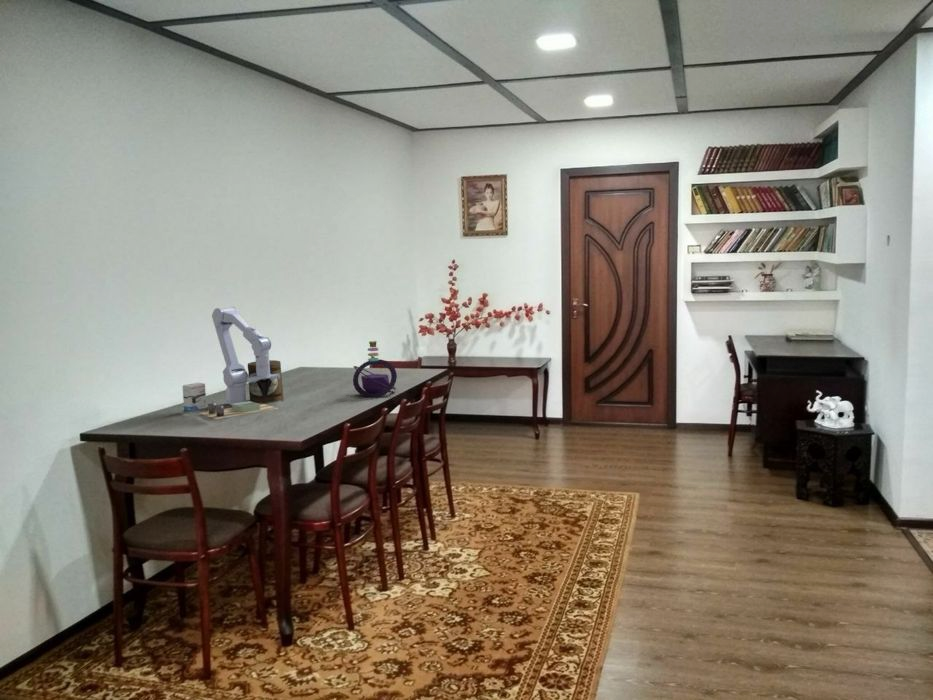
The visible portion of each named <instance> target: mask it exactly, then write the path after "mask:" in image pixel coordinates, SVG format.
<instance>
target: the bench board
mask: <svg viewBox="0 0 933 700" xmlns="http://www.w3.org/2000/svg"><path fill="white" fill-rule="evenodd" d="M258 404H260V410H255V411H249V412H243V413H242V412H238V411H235V410H232V407H228V408H224V416H219V417H218V416H217V415H216V413H215V414H209V410H208V411H203V412H199V414H200V415H203V416H206V417H209V418H212V419H215V420H219V419H220V420H221V419H225V418H230V417H237V416H242V415H243V416H244V415H248V414H249V415H251V414H254V413H255V414H256V413H259V412H260V413H261V412H265V411H273V410H278V409H280V407H279V408H278V407H276V406H272V405H269V404H265V403H258Z"/></svg>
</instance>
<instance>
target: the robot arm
mask: <svg viewBox="0 0 933 700" xmlns="http://www.w3.org/2000/svg"><path fill="white" fill-rule="evenodd" d="M211 317H212V318H211V319H212V322H213V325H214V328H215V332H216V334H217V335H216V336H217V338H218V341H219V346H220V348H221V349H220V350H221V352H222V355H223V359H224V361H225V367H224V369H223V371H222V374H223V378H222V379H223V382H224V384H225V386H226V389H225V402H226V403H225V404H226V405H228V404H229V405H231V406H232V404H233V403H240V402H246V401H247V397H246V396H247V394H246V385H247V383H248V384H249V383H250V382H255V381H256V383H257V385H258V386H259V388H260V390H261V393H262V397H267V396H268V391H269V387H270V385H271V383H272V380H270V379H277V378H278V379H279V378H280V374H270V363H269V360H270V350H271V348H272V342H271V340H270V338H269V337H267V336H263V335H262V334H261V333H260V332H259V331H258V330H257V329H256V327H254V326H250V325H248V324H247V323H246V321H245V320H244V319H243V317H242V316H241V315H240V311H239V310H238V309H237V308H236V307H235V306H229V307H221V308H220V307H217V308H214V310H213V312H212V313H211ZM233 325H234V326H235V327H237V329H239V330H240V331H241V332H243V333H242V337H244V339H245V340H246V341H247V342H248V343H250V346H251V349H252V350H253V351H252V352H253V355H254V356H255V357H254V358H255V362H256V373H257V376H254V377H249V375H248V372H247V371H248V370H246V368H245V366H244V365H243V364H241V363H239V359H238V355H237V352H236V349H235V346H234V343H233V339H232V335H231V332H230V328H231V327H232V326H233ZM266 378H267V379H266Z"/></svg>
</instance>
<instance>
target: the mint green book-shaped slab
mask: <svg viewBox="0 0 933 700" xmlns="http://www.w3.org/2000/svg"><path fill="white" fill-rule="evenodd" d="M231 408H232V410H235V411H238V412H242V413H243V412H249V411H255V410H260V404H258V403H254V402H251V401H250V400H249V401H248V400H246V402H240V403H233V404H232V405H231Z"/></svg>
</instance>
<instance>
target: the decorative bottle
mask: <svg viewBox="0 0 933 700" xmlns="http://www.w3.org/2000/svg"><path fill="white" fill-rule="evenodd" d="M368 342H369V343H368V344H369V348H367V351H368V352H370V353H367V356H369V357H370V358H368V359H367V361H365V362H363V363H362V364H360V365H359V366H357V365H353V369H355V372H354V375H353V378H352V385H353V387H354V389H355V390H356V392H357V393H358V394H360V396H361V395H362V397H364V398H365V397H366V398H374V399H375V398H379V397H382V396H384V395H386V394H387V393H389V392H390V391H391V390H394V391H395V390H397V389H396V386H395V385H396V382H397V380H398V379H397V378H398V375H397V370H396V368H395V367H394V365H393V364H392V363H390V362H389V361H387V360H384V359H380V358H379V357H378V356H379V355H380V354H379V352H377V351H379V347H377V340H371V341H368ZM376 364H377V365H383V366H385V367H386V368H387V369H388V370H389V371H390V375H391V378H390V377H389V374H383V373H382V374H380V373H378V374H377V373H372V372H371V371H368V370H367V369H366V368H368V367H369V366H370V365H376ZM362 371H364V372H366V373H369V374H366V373H364V372H362ZM360 374H362V375H361V377H360ZM359 377H360V378H361V384H362V385H361V386H362V387H361V386H360V383H359ZM389 379H390V380H389Z"/></svg>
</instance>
